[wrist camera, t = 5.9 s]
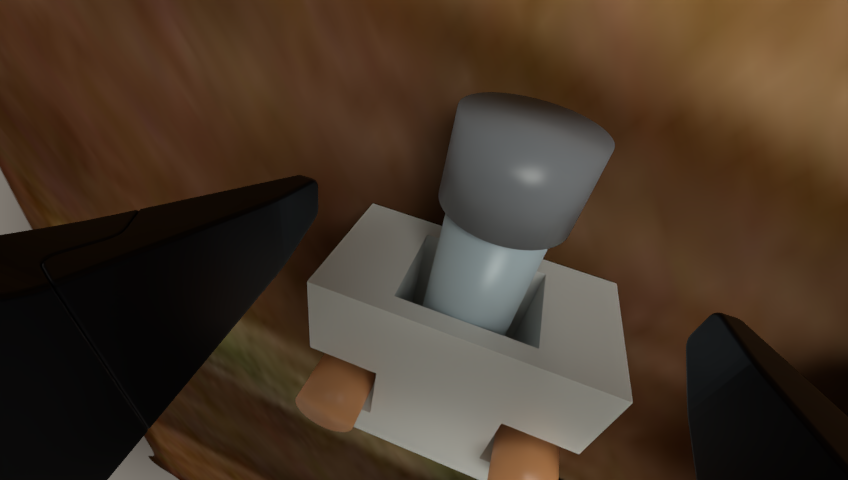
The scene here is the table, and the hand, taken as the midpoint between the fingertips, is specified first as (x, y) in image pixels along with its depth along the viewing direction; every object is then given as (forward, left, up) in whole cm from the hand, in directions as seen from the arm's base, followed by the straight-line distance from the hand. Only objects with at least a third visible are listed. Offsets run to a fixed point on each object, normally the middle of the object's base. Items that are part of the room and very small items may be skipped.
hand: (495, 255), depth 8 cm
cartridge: (-6, 0, -7) cm, 9 cm away
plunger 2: (-11, -4, -3) cm, 13 cm away
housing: (-10, 0, -8) cm, 13 cm away
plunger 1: (-11, +4, -3) cm, 13 cm away
